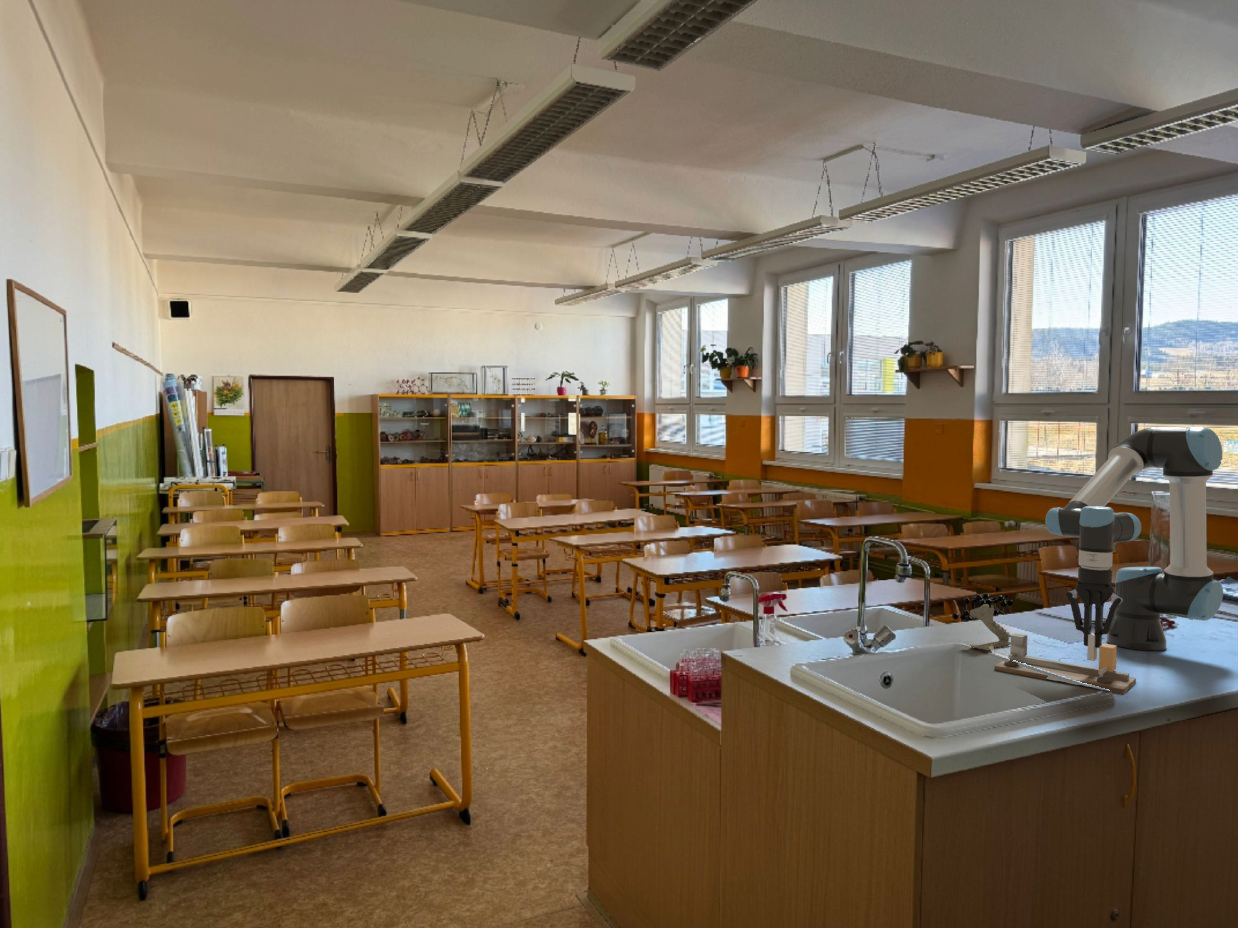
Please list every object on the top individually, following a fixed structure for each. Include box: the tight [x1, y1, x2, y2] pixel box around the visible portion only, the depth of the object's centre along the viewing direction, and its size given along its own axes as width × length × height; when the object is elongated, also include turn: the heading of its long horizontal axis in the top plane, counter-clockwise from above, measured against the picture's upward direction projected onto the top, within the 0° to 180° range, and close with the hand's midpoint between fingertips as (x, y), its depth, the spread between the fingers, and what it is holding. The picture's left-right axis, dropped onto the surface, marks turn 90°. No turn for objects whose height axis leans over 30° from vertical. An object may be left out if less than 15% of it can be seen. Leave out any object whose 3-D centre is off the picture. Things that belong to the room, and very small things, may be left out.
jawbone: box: [969, 603, 1012, 651], centre depth 254 cm, size 14×8×15 cm
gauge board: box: [994, 632, 1137, 695], centre depth 223 cm, size 13×30×8 cm, turn 48°
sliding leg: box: [1098, 643, 1118, 677], centre depth 217 cm, size 9×3×7 cm, turn 138°
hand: (1092, 659), depth 221 cm, fingers closed
